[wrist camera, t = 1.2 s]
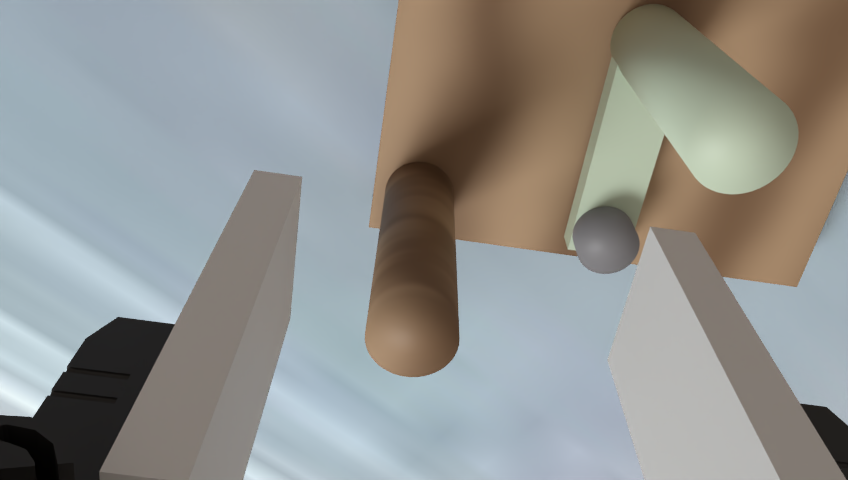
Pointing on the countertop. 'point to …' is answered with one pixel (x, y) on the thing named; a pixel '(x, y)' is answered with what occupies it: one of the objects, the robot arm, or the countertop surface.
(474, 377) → the countertop surface
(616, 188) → the crank handle
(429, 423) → the countertop surface
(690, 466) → the robot arm
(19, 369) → the countertop surface
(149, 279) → the countertop surface
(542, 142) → the wooden peg board
